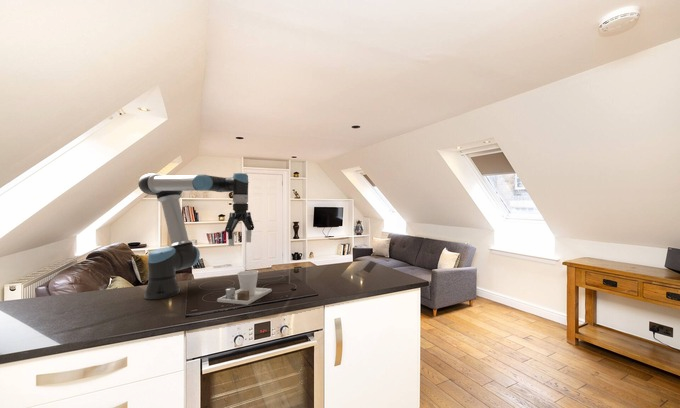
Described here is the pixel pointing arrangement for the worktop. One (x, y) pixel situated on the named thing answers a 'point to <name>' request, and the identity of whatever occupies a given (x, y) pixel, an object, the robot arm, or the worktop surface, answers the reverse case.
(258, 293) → the tray
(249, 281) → the cup
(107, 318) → the worktop surface
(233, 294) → the metal spacer
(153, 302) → the worktop surface
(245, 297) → the walnut block
